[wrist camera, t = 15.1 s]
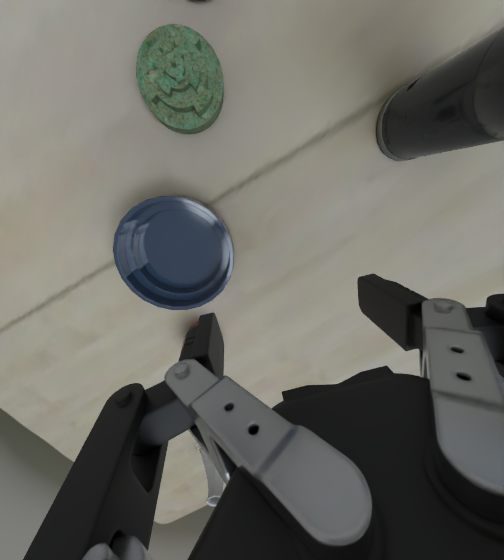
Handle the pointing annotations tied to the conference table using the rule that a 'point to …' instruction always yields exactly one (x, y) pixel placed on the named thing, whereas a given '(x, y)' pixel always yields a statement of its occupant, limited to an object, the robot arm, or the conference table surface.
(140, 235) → the large bowl
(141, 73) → the decorative artifact
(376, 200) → the conference table surface
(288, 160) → the conference table surface
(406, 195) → the conference table surface
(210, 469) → the flask
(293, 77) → the conference table surface
